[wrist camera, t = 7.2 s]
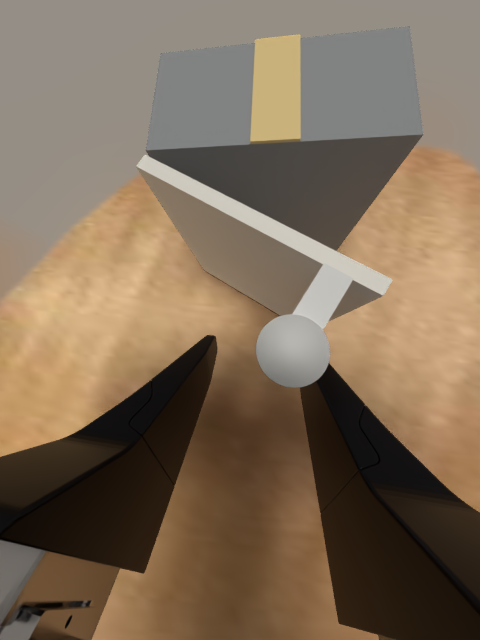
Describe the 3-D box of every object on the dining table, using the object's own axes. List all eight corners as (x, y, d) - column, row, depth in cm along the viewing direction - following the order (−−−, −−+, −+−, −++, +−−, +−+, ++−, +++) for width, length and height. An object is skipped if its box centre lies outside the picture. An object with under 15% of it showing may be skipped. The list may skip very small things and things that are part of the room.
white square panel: (280, 374, 15) (323, 414, 5) (178, 307, 17) (60, 239, 7) (310, 325, 15) (404, 273, 6) (207, 264, 17) (137, 141, 7)
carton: (325, 264, 17) (425, 131, 7) (209, 264, 18) (144, 147, 8) (324, 211, 17) (411, 21, 7) (213, 214, 18) (159, 49, 8)
